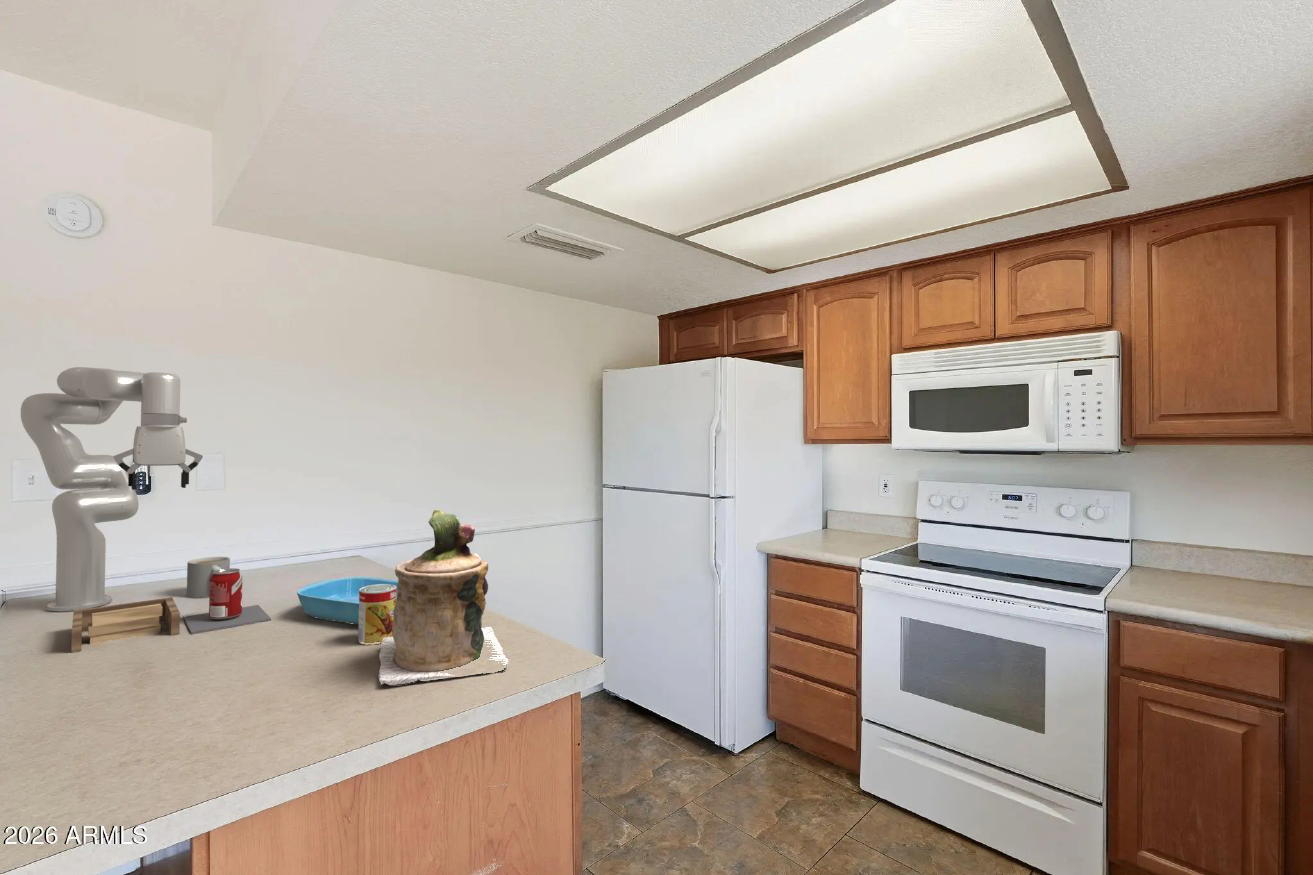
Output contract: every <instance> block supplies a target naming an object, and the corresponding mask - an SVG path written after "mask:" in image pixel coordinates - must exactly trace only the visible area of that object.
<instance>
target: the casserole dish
mask: <svg viewBox="0 0 1313 875" xmlns="http://www.w3.org/2000/svg"><path fill="white" fill-rule="evenodd" d="M377 584H391V585H395V586H396V598H397V594H398V593H397V585H398V580H396V579H389V578H388V579H387V578H380V577H379V578H378V577H371V576H349V577H348V576H347V577H343V578H341V577H340V578H335V579H334V578H333V579H326V580H322V581H316V582H313V583H309V584H307V585H305V586H304V587H302V588H299V589H298V590H297V591H296V594H297V597H298V600H299V603H300V605H301V606H300V607H301V608H302V610H303V611H304V612H305V614H307V615H308V616H310V617H311V618H315V617H317V618H316V619H319V618H321V620H324V619H328V620H327V621H330V620H335V621H334V622H336V621H341V622H340V623H343V622H348V623H353V624H352V625H355V624H359V590H360V589H361V588H363V587H365V586H370V585H377ZM348 623H347V624H348Z"/></svg>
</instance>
